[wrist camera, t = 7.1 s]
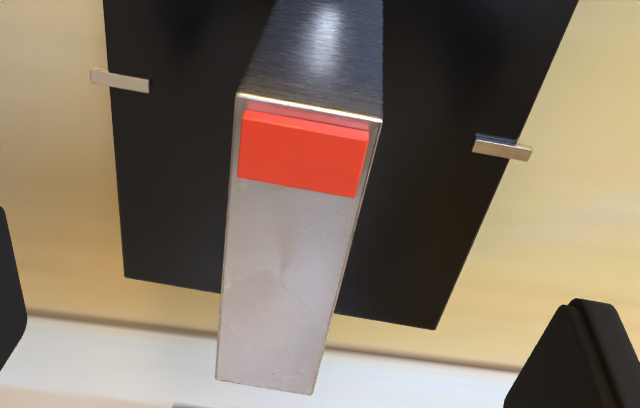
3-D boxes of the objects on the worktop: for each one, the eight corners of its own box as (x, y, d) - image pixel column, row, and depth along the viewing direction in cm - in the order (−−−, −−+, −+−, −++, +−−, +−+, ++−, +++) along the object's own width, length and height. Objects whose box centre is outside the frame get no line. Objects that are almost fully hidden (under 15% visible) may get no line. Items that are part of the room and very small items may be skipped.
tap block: (439, 268, 21) (446, 337, 18) (143, 216, 21) (110, 280, 18) (626, -201, 12) (688, -187, 10) (120, -301, 12) (51, -315, 9)
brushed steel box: (331, 222, 16) (310, 407, 12) (259, 210, 16) (211, 391, 12) (383, -14, 12) (383, 129, 8) (288, -32, 12) (230, 102, 7)
